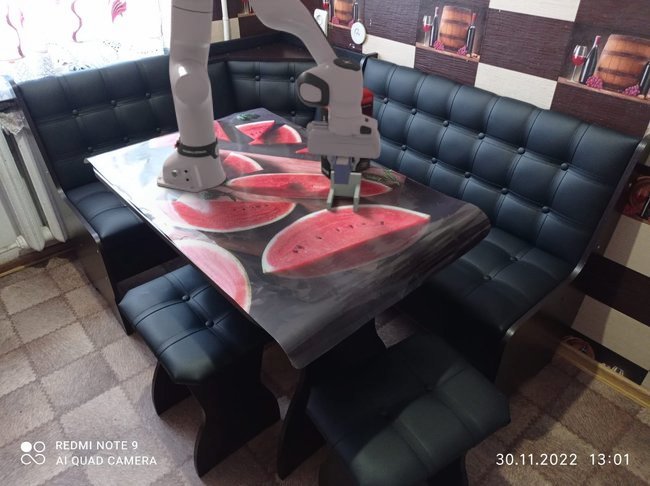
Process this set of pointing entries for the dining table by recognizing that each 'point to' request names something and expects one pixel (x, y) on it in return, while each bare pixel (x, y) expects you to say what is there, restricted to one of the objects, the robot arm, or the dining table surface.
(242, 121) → the dining table surface
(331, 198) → the bracket
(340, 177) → the book
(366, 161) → the graphics card box
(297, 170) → the dining table surface
